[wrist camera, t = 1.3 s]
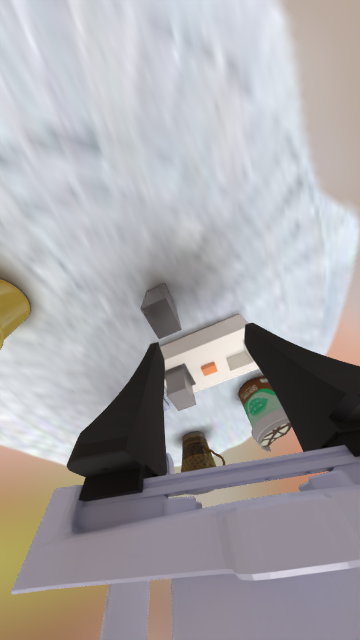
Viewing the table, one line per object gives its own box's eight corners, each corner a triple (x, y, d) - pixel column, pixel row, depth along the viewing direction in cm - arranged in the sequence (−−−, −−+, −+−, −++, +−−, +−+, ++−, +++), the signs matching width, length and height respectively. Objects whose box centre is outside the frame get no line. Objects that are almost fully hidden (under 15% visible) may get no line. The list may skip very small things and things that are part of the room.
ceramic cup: (192, 449, 46) (199, 497, 37) (169, 440, 42) (171, 492, 33) (223, 429, 43) (240, 477, 34) (202, 418, 39) (214, 469, 30)
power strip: (173, 382, 31) (175, 404, 27) (151, 350, 27) (149, 369, 22) (248, 353, 30) (262, 371, 26) (238, 314, 25) (254, 327, 21)
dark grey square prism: (159, 315, 24) (158, 339, 17) (146, 291, 22) (140, 308, 15) (176, 307, 23) (181, 329, 17) (164, 283, 21) (165, 297, 15)
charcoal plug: (175, 375, 29) (178, 411, 23) (165, 361, 27) (166, 395, 21) (188, 370, 29) (196, 404, 22) (180, 355, 27) (185, 388, 20)
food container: (251, 367, 32) (286, 413, 23) (272, 372, 33) (312, 417, 25) (225, 402, 37) (245, 451, 28) (244, 405, 38) (269, 452, 29)
